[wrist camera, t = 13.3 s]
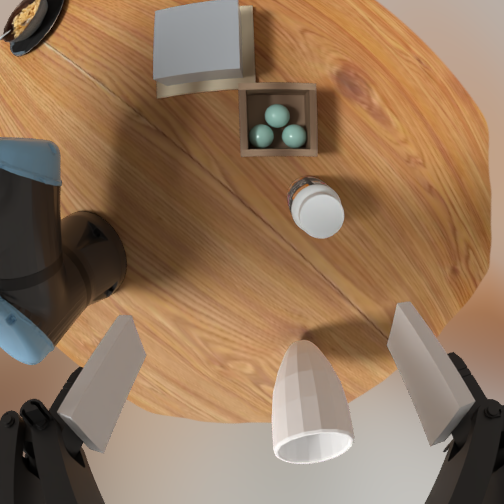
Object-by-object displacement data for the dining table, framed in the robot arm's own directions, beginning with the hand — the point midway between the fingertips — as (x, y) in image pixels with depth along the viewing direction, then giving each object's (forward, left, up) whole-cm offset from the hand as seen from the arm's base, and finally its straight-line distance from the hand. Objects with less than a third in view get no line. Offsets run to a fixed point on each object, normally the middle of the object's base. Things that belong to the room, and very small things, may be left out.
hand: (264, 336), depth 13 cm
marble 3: (+4, +9, -26) cm, 27 cm away
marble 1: (0, +9, -26) cm, 27 cm away
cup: (+6, -23, -27) cm, 36 cm away
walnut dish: (+2, +11, -26) cm, 29 cm away
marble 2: (+2, +13, -25) cm, 28 cm away
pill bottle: (+6, +1, -27) cm, 27 cm away
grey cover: (-7, +22, -26) cm, 35 cm away
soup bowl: (-40, +40, -27) cm, 63 cm away
